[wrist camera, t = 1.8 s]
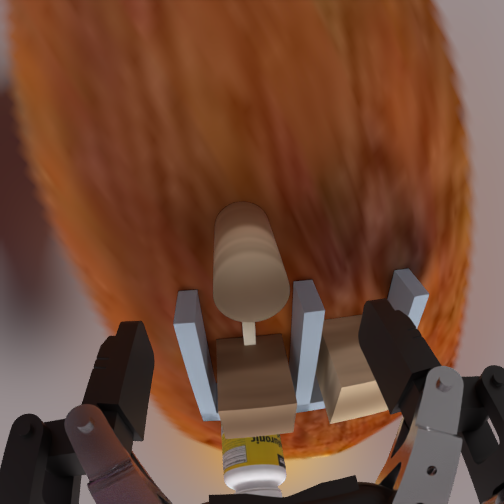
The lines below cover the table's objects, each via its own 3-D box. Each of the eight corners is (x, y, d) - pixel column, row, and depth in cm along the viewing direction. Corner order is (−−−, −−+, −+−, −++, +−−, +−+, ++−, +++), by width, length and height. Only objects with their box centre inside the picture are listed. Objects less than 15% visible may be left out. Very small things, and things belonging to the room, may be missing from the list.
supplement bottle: (287, 414, 28) (304, 502, 19) (245, 433, 29) (254, 514, 21) (251, 395, 25) (264, 497, 17) (208, 416, 27) (211, 508, 18)
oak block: (317, 320, 22) (341, 387, 16) (375, 312, 22) (408, 372, 17) (311, 361, 24) (330, 423, 19) (364, 352, 24) (389, 409, 19)
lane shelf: (178, 291, 19) (173, 323, 16) (408, 268, 20) (429, 294, 17) (203, 391, 25) (203, 421, 22) (377, 368, 25) (388, 393, 23)
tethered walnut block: (197, 205, 16) (186, 266, 11) (283, 198, 17) (312, 255, 11) (222, 373, 23) (225, 438, 18) (280, 368, 24) (293, 432, 19)
